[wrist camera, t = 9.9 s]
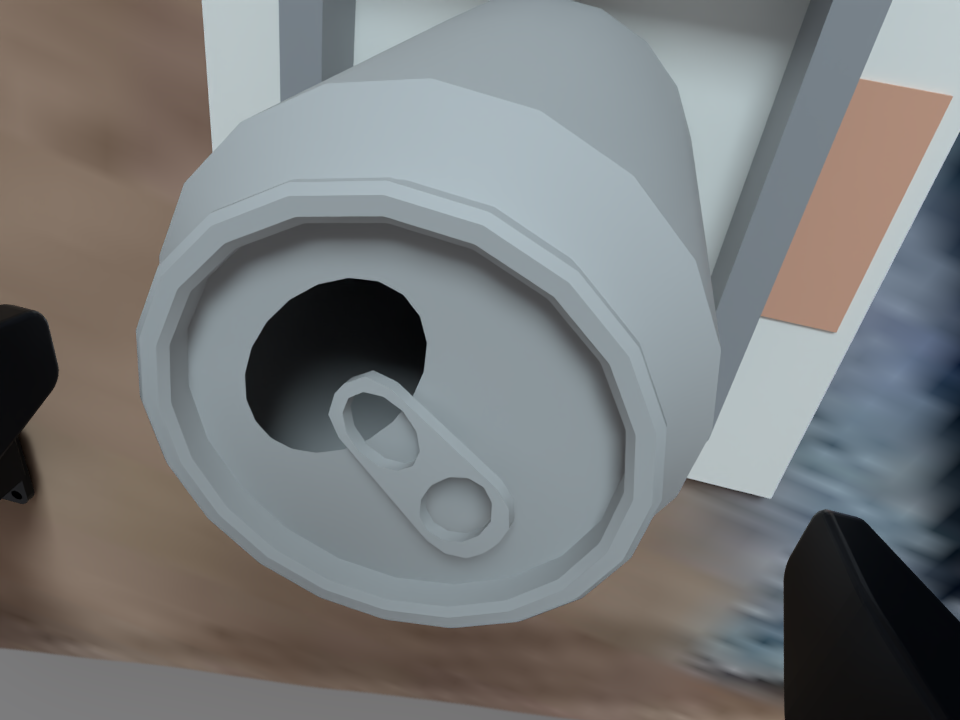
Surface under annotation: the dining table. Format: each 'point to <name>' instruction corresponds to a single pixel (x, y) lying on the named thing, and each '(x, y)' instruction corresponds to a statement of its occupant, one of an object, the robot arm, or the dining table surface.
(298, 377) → the can
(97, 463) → the dining table surface
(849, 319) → the collar plate
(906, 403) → the dining table surface
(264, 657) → the dining table surface
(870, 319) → the dining table surface
